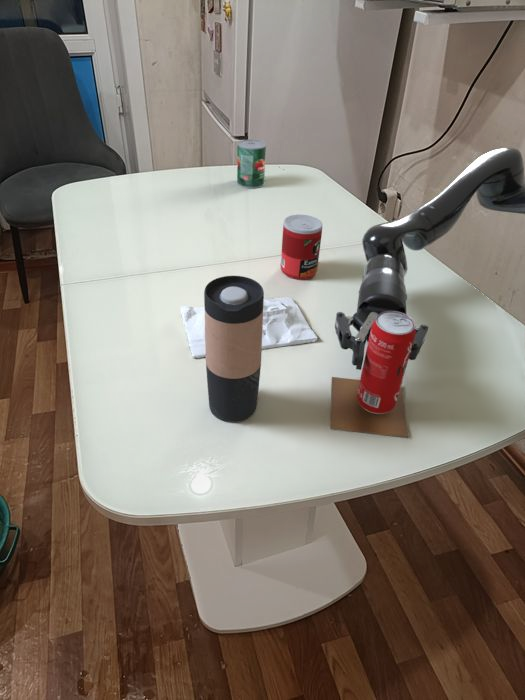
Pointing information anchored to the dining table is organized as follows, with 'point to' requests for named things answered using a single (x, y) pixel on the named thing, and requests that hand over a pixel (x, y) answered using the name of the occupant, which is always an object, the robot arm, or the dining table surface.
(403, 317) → the beverage can
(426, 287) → the dining table surface
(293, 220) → the canned food
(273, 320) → the terrain model
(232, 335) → the travel mug
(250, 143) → the canned tomato
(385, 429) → the cork mat
